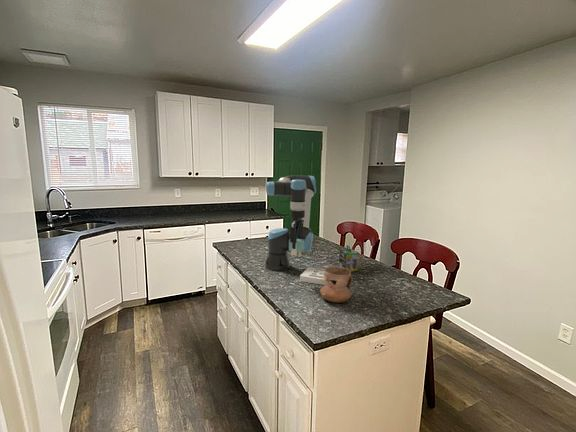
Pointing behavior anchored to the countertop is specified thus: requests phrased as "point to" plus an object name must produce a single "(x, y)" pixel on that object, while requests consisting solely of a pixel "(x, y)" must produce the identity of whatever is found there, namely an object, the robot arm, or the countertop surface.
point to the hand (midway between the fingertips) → (296, 253)
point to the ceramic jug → (336, 284)
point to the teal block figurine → (299, 246)
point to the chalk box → (349, 259)
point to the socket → (313, 276)
